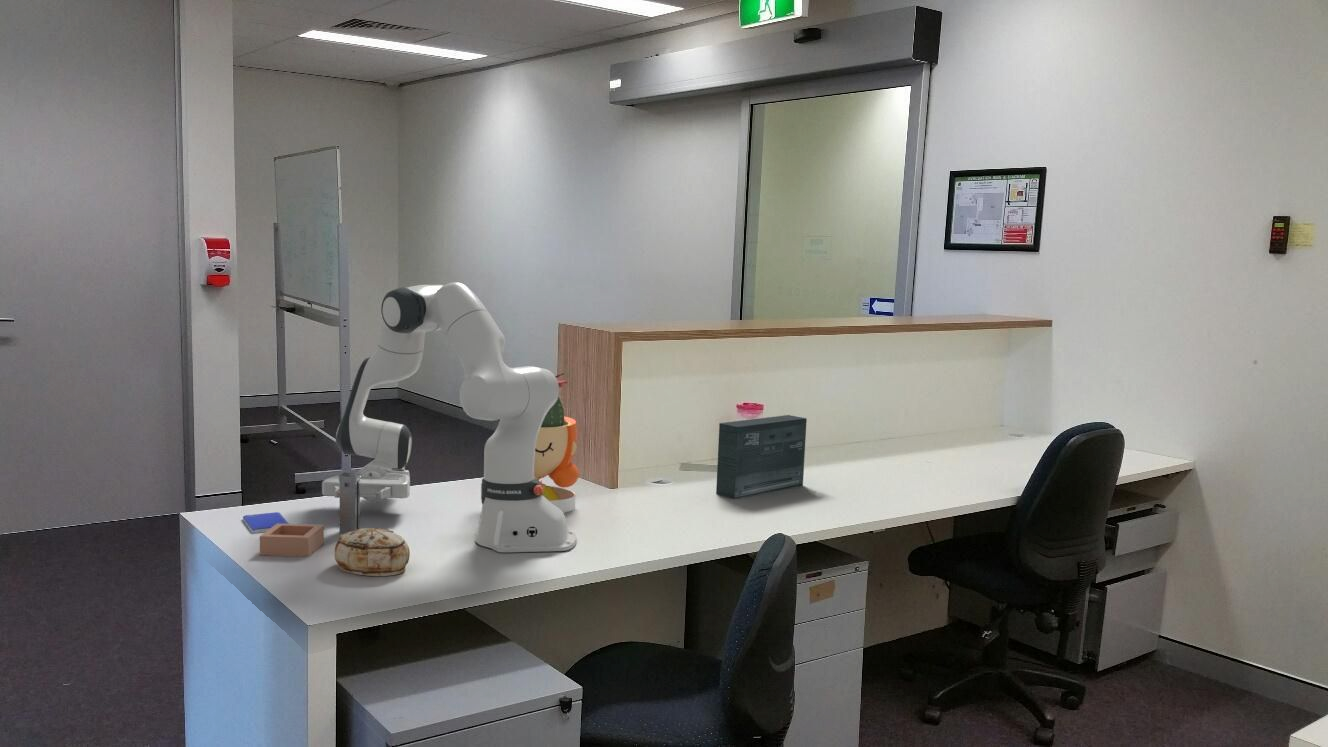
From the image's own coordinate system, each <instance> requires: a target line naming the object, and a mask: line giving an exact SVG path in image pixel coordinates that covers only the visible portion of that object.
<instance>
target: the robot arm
mask: <svg viewBox="0 0 1328 747" xmlns="http://www.w3.org/2000/svg"><path fill="white" fill-rule="evenodd" d="M380 310H381V315H382V319H381V323H380V325H379V330H378V336H377V341H376V348H375V351H374V353H373V354H372V355H371V356H370V357H366V358H365V359H364V360H363V361H362V362H361V364H360V366H359V367H358V369H357V372H356V376H355V378H354V381H353V384H352V388H351V390H350V392H349V397H348V400H347V403H346V405H345V406H346V407H345V409H344V413H343V416H342V418H341V421H340V422H339V425H338V427H337V430H336V434H335V444H336V446H337V447H338V448H339V450H340V451H341V452H342V453H343V454H344V455H349V456H350V455H351V456H362V457H366V458H372V459H373V460H371V461H370V462H369V463H368V464H366V465H364V466H363V467H362V468H360V469H359V470H358V472H357V473H361V479H360V498H362V499H364V500H367V501H371V502H375V501H379V500H384V499H408V498H409V497H410V496H411V494H410V493H411V492H410V491H411V476H410V470H408V469H405V467H406V466H407V465H408V464H409V462H410V460H411V457H412V453H413V447H414V437H413V435H412V432H411V431H410V429H409V428H408V427H407V425H406V424H402V423H397V422H393V421H385V420H381V419H377V418H375V419H374V418H370V417H367V416H366V415H364V412H365V411H364V410H365V407H366V404H367V402H368V398H369V395H370V391H371V389H372V388H374V387H375V386H379V385H382V384H390V383H395V382H400V381H403V380H406V379H408V378H410V377H412V376H413V375H415V373H416V372H418V370H419V368H420V367H421V364H422V359H423V356H424V355H423V354H424V347H425V339H426V338H425V337H426V333H427V332H428V333H429V332H430V333H432V332H433V333H434V332H439V331H442V332H443V334H444V335H445V337H446V339H447V340H448V342H449V344H450V345H451V347H452V349H453V351H454V352H455V354H456V355H457V357H458V359H459V361H460V363H461V365H462V368H463V371H464V380H463V382H462V383H461V387H460V389H459V402H460V405H461V407H462V408H461V409H463V411H464V413H466V416H469V417H470V418H472V419H476V420H480V421H481V420H482V421H492V422H493V421H498V420H499V421H498V424H497V427H496V429H495V431H494V432H493V434H492V435H490V437H488V439H487V440H486V442H485V444H484V450H483V451H484V457H483V461H484V462H483V477H482V479H481V483H480V485H481V486H480V501H481V504H482V507H481V513H480V514H481V515H480V520H479V525H478V528H477V533H476V536H475V538H474V541H475V543H476V544H478V545H479V546H482V547H484V548H489V549H492V550H494V551H495V552H496V553H497V552H498V553H531V552H564V551H565V552H566V551H569V550H571V549H572V548H574V547H575V546H576V545H577V541H578V540H577V534H576V533H575V532H574V531H572V530H570V529H568V524H567V520H566V516H565V513H563V512H562V510H560V509H559V508H558V507H556V506H555V505H554V504H553V503H551V502H550V501H549V500H547V499H546V498H545V497H544V496H542V494H543V484H544V483H543V480H541V479H540V480H539V481H538V480H537V479H535V478H534V462H535V448H536V442H537V437H538V434H539V431H540V428H541V425H542V423H543V420H544V418H545V416H546V414H547V412H548V411H549V410H550V408H551V407H552V406H553V405H554V404H555V403H556V401H557V399H558V397H559V396H560V395H559V394H560V387H559V385H558V382H557V380H558V379H557V378H556V377H555V376H556V375H555V374H554V373H553V372H552V371H551V370H549V369H546V368H544V367H537V366H533V365H527V366H516V367H510V366H508V365H507V364H506V363H505V362H504V359H503V356H502V355H503V353H504V351H505V348H506V344H507V343H506V342H507V341H506V337H505V335H504V334H503V332H502V331H501V329H500V328H499V326H498V324H497V323H496V321H495V320H494V318H493V317H492V315H491V314H490V312H489V311H488V309H487V308H486V306H485V305H484V304H483V302H482V301H481V300H480V298H479V297H478V296H477V295H476V294H475V292H473V291H472V290H471V289H470V287H468V286H467V285H466V284H464V283H461V282H458V281H456V282H455V281H454V282H449V283H446V284H418V285H417V284H416V285H413V286H408V287H404V286H403V287H398V288H395V289H392V290H390V291H389V292H387V293H386V294H385V296H384V297H383V299H382V303H381V309H380ZM339 476H340V475H333V476H331V477H329V478H325V479H324V480H323V481H322V482H321V493H322V495H323V496H324V497H334V498H338V499H340V482H339Z"/></svg>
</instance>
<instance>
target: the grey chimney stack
mask: <svg viewBox="0 0 1328 747" xmlns="http://www.w3.org/2000/svg"><path fill="white" fill-rule="evenodd" d="M338 476H339V482H340V498H339V535H343V534H345V533H347V532H350V531H353V530H358V529H361V526H360V525H361V524H360V523H361V520H360V519H361V515H360V514H361V504H360V503H361V497H360V479H361V473H358V472H343V473H341V474H340V475H338Z"/></svg>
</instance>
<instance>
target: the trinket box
mask: <svg viewBox="0 0 1328 747" xmlns="http://www.w3.org/2000/svg"><path fill="white" fill-rule="evenodd" d="M410 553H411V552H410V546H409V544H408V543H407V541H406V540H405V539H404V538H403V537H402V536H401V535H399V534H397V533H396V532H394V531H393V530H389V529H386V528H385V529H383V528H378V527H375V528H360V529H358V530H353V531H350V532H347V533H345V534H340V535H339V537H338V538H337V542H336V544H335V546H334V553H333V554H334V555H333V556H334V560H335V562H336V563H337V564H338V567H339V569H340V570H341V571H344V572H347V573H350V574H354V575H360V576H361V575H362V576H368V577H369V576H371V577H386V576H387V577H388V576H394V575H399V574H402V573H403V572H405V571H406V567H407V566H406V565H407V564H408V563H409V561H410V555H411V554H410Z"/></svg>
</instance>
